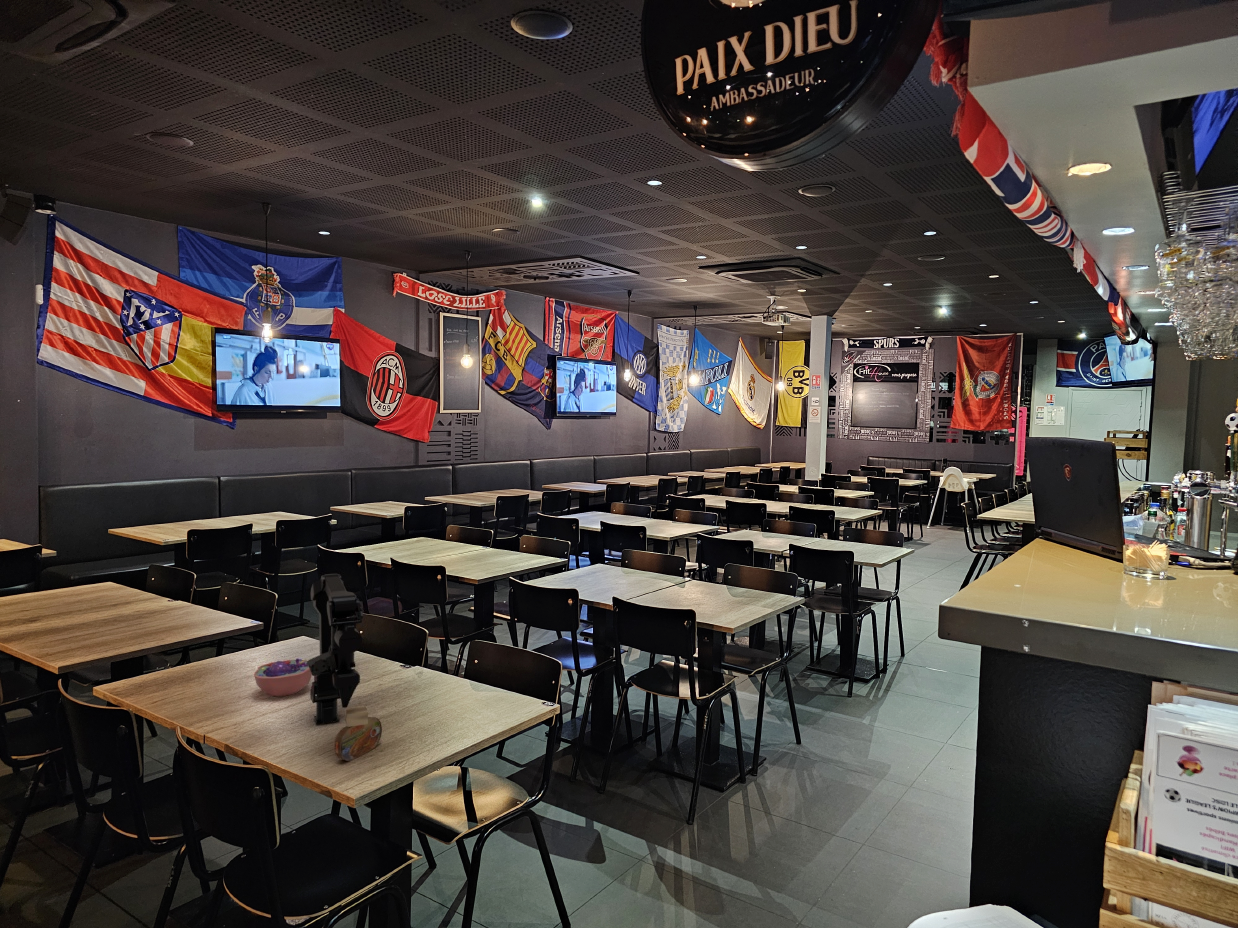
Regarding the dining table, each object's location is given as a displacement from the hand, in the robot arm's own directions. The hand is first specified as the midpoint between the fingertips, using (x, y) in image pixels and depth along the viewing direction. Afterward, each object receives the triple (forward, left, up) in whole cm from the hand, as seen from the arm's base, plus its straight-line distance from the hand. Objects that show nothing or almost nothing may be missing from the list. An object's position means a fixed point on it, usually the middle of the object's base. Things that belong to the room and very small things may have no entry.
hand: (342, 701), depth 195 cm
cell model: (-53, -12, -13) cm, 56 cm away
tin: (+5, +4, -13) cm, 14 cm away
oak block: (+5, +3, -4) cm, 7 cm away
